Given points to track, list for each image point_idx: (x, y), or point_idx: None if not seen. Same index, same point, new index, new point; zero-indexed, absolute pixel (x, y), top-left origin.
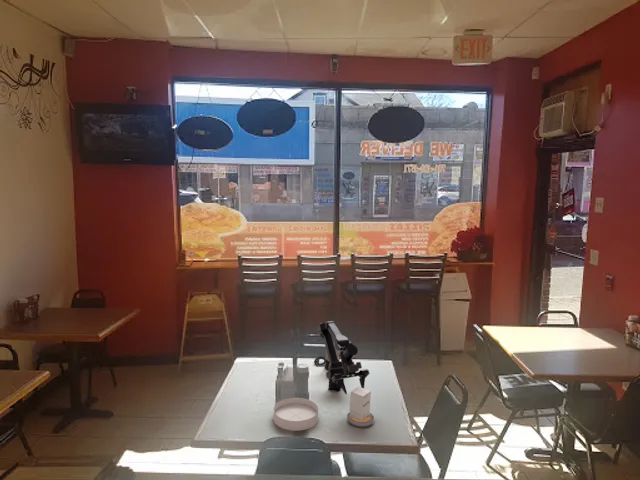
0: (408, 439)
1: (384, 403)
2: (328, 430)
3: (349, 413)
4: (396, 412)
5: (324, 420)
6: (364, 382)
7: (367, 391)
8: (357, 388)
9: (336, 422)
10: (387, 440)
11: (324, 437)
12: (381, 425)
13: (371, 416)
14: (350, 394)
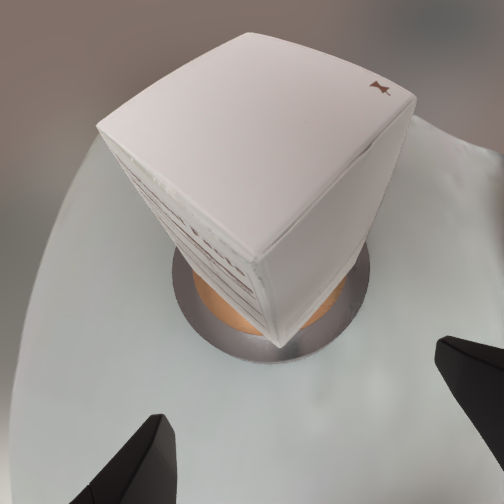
0: (101, 139)
1: (67, 455)
2: (446, 181)
3: (350, 306)
4: (39, 342)
5: (483, 267)
6: (77, 496)
7: (146, 100)
8: (301, 165)
9: (424, 247)
10: None
11: (446, 141)
12: (155, 218)
13: (187, 263)
14: (407, 126)
